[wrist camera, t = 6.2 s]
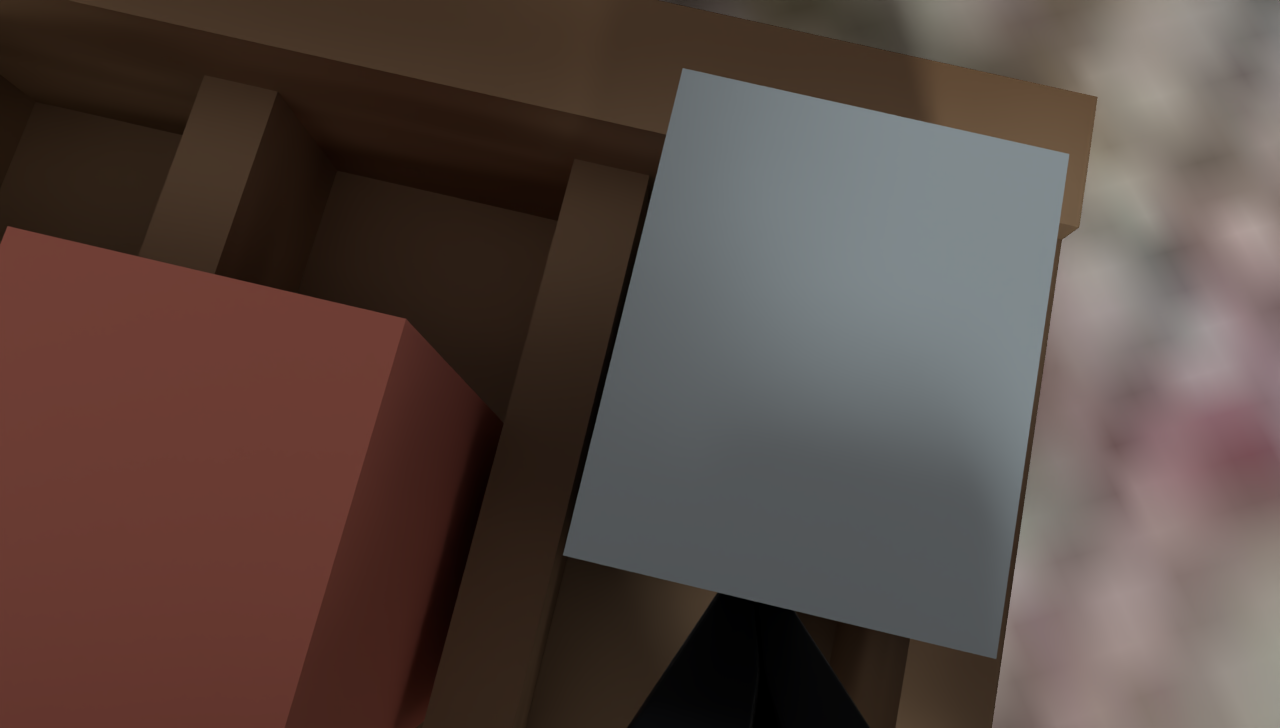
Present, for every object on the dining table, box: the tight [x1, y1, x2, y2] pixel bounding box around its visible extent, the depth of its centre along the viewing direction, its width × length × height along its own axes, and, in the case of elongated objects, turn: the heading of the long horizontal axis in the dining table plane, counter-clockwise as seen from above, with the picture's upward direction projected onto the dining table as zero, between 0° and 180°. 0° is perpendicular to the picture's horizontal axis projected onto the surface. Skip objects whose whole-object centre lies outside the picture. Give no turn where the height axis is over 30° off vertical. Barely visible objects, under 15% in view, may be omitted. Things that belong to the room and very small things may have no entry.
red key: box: [0, 226, 504, 728], centre depth 12 cm, size 5×4×8 cm
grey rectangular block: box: [563, 68, 1069, 659], centre depth 12 cm, size 5×4×8 cm
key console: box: [0, 0, 1097, 728], centre depth 15 cm, size 12×19×6 cm, turn 77°
